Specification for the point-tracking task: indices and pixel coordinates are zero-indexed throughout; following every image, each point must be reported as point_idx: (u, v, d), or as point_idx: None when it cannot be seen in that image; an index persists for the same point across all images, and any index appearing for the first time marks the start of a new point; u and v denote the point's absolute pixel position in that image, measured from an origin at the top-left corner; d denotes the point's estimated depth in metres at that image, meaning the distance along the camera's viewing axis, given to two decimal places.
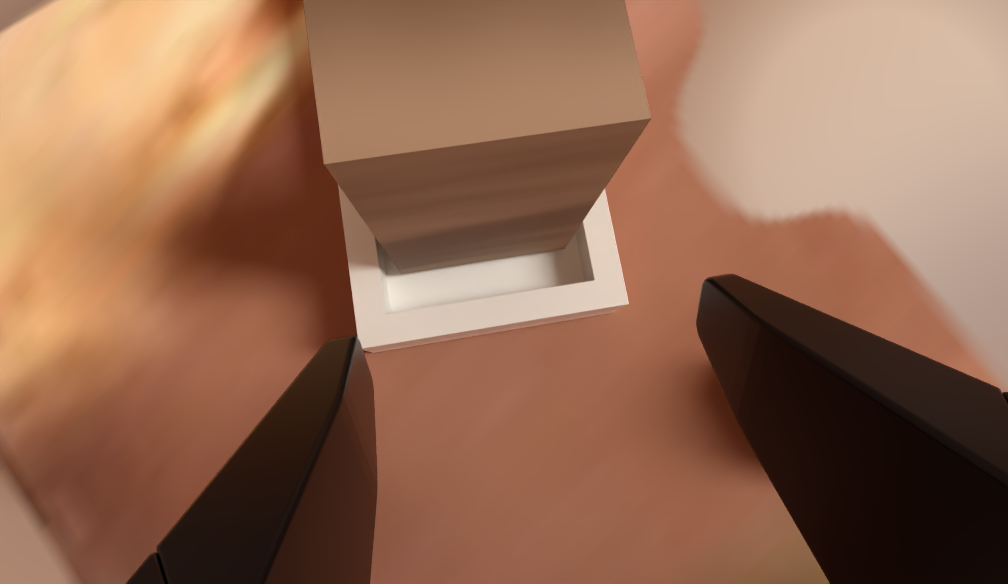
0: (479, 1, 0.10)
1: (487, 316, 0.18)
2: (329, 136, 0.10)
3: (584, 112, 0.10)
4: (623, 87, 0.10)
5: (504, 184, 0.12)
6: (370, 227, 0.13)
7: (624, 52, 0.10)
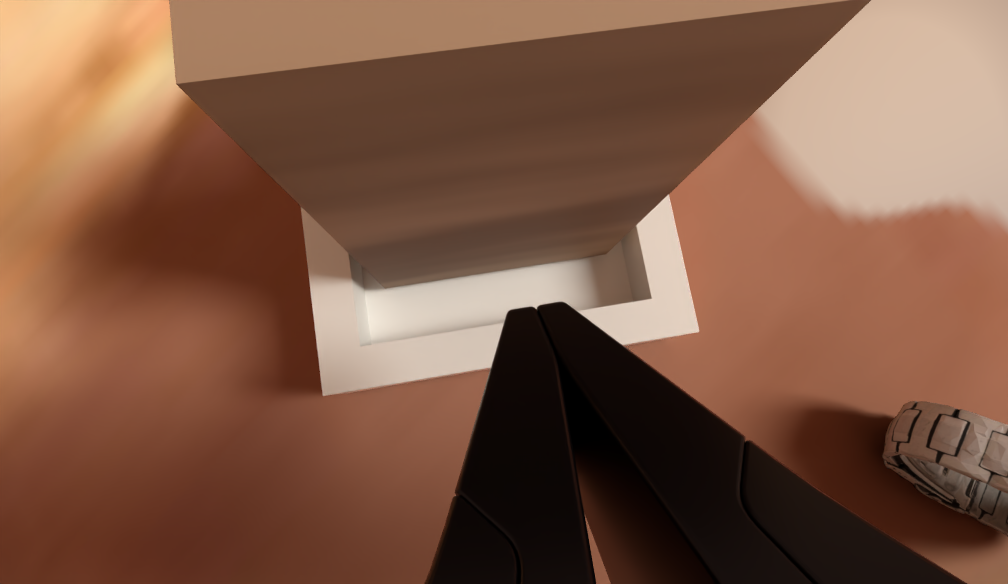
0: None
1: None
2: (191, 24, 0.04)
3: None
4: None
5: (547, 149, 0.07)
6: (322, 224, 0.08)
7: None
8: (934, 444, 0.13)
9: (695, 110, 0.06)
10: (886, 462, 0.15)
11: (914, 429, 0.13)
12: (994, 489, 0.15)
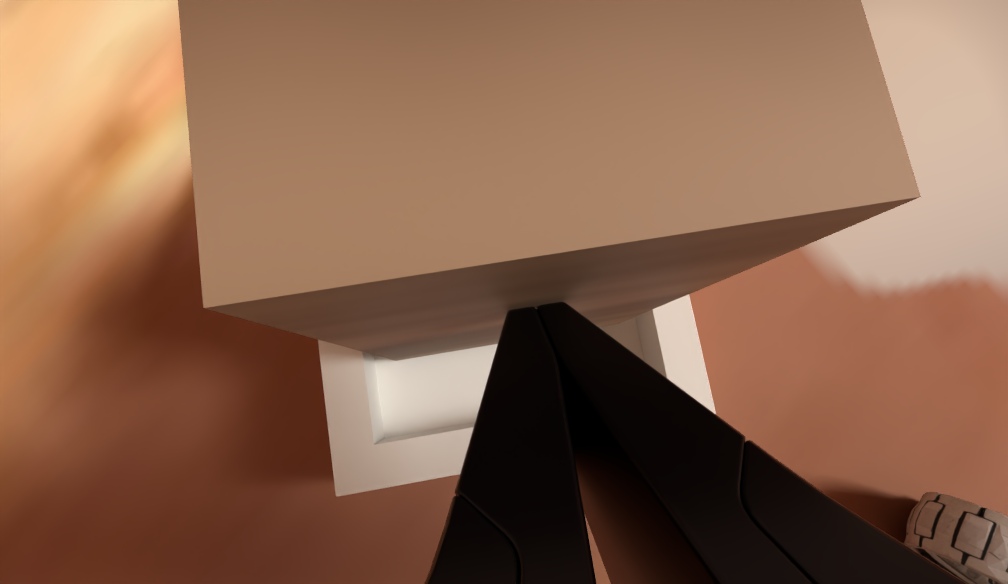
0: None
1: None
2: (218, 241, 0.04)
3: (780, 184, 0.05)
4: (855, 130, 0.05)
5: (572, 290, 0.07)
6: (339, 344, 0.08)
7: (854, 55, 0.05)
8: (959, 544, 0.13)
9: (725, 259, 0.06)
10: None
11: (938, 525, 0.13)
12: None
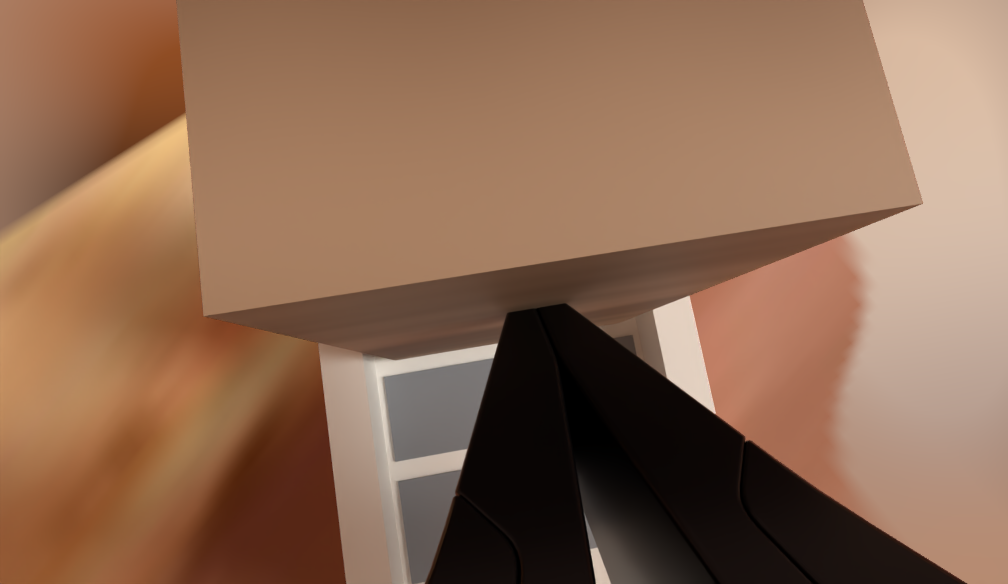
0: None
1: None
2: (218, 248, 0.04)
3: (782, 192, 0.05)
4: (858, 136, 0.05)
5: (572, 294, 0.07)
6: (339, 346, 0.08)
7: (857, 61, 0.05)
8: None
9: (726, 263, 0.06)
10: None
11: None
12: None
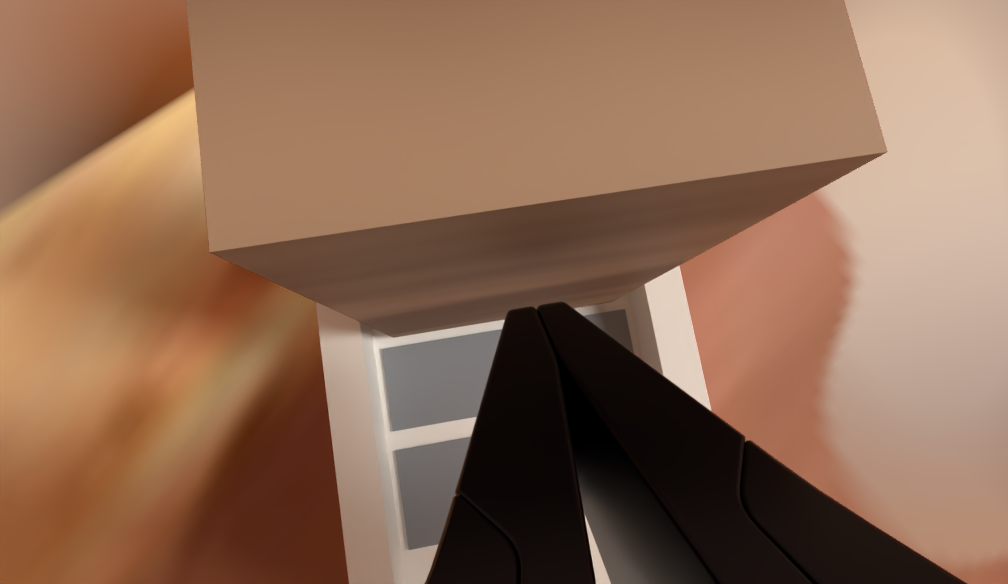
0: None
1: None
2: (223, 190, 0.05)
3: (754, 141, 0.05)
4: (827, 89, 0.05)
5: (561, 254, 0.07)
6: (337, 310, 0.08)
7: (826, 19, 0.05)
8: None
9: (708, 222, 0.07)
10: None
11: None
12: None
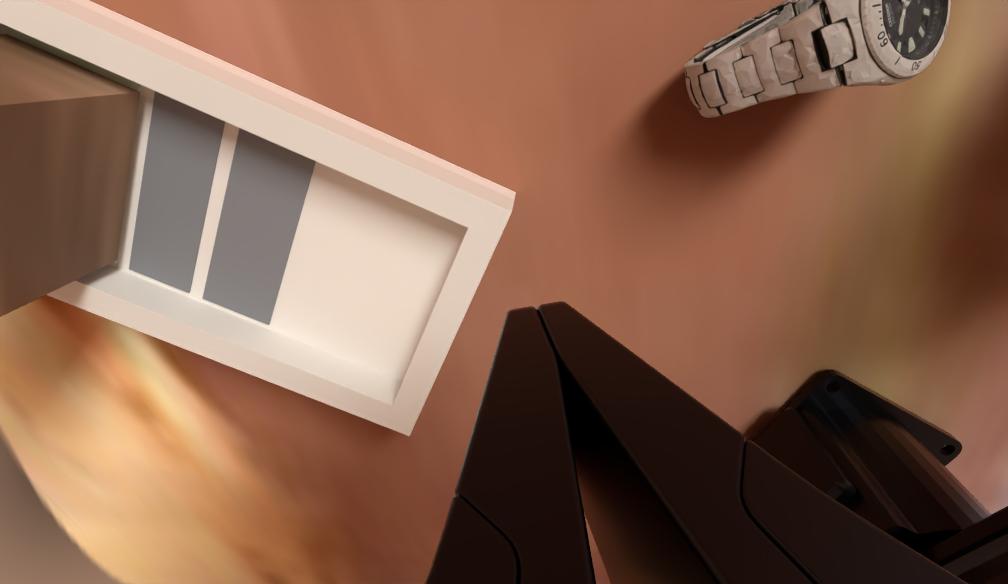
0: None
1: (442, 337, 0.18)
2: None
3: None
4: None
5: None
6: None
7: None
8: (710, 104, 0.14)
9: None
10: None
11: (695, 97, 0.15)
12: None
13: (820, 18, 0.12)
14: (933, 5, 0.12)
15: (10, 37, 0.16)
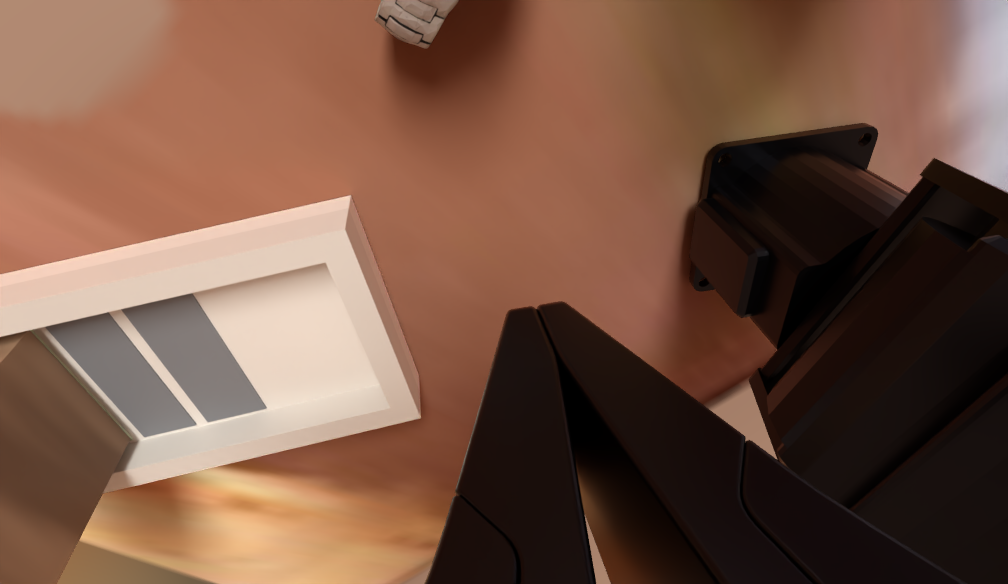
0: None
1: (380, 344, 0.20)
2: None
3: None
4: None
5: None
6: None
7: None
8: (414, 41, 0.14)
9: None
10: None
11: (402, 39, 0.14)
12: None
13: None
14: None
15: None
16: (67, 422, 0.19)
